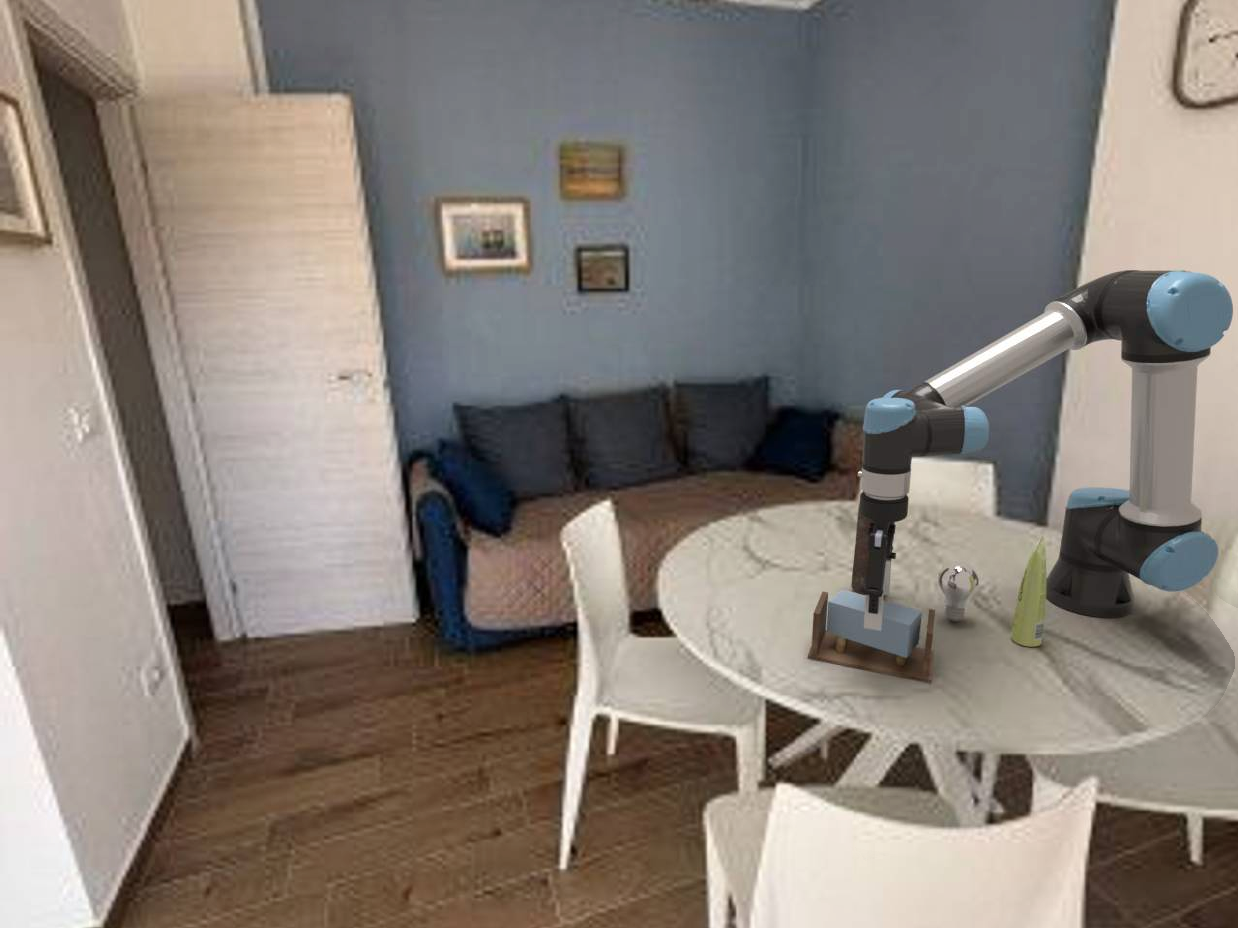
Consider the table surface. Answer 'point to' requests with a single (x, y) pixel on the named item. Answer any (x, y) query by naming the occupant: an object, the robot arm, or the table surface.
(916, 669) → the peg stand
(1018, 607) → the tube
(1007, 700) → the table surface
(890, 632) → the block
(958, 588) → the light bulb
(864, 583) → the brown rusty cylinder
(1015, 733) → the table surface
